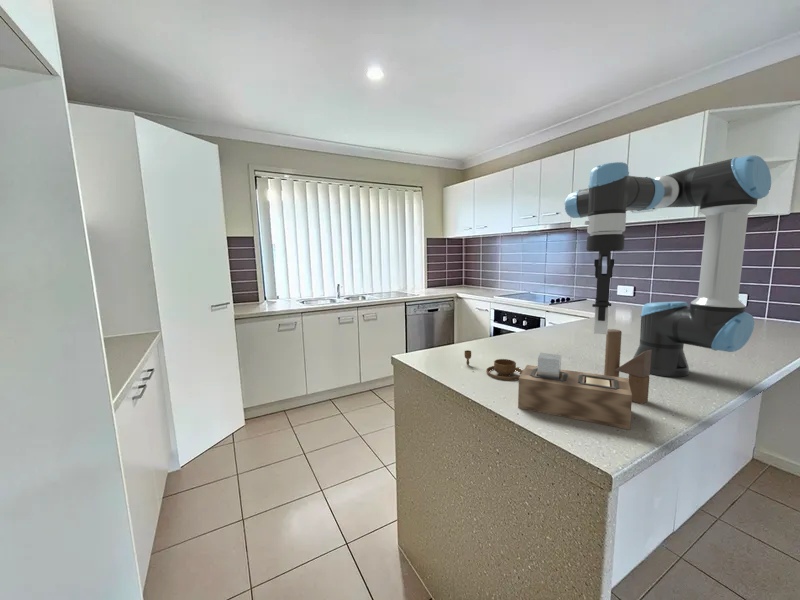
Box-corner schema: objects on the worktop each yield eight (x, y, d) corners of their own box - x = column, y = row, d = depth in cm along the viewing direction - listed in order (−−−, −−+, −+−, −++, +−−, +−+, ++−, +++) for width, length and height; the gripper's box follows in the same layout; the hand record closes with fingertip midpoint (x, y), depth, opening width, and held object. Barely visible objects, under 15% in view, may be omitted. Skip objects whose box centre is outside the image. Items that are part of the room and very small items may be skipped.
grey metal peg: (560, 380, 88) (561, 355, 88) (558, 386, 84) (559, 360, 83) (539, 377, 91) (540, 352, 90) (537, 383, 87) (538, 357, 86)
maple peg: (607, 407, 84) (609, 380, 83) (608, 415, 79) (610, 387, 78) (585, 403, 86) (586, 377, 85) (584, 411, 82) (585, 383, 81)
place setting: (490, 385, 104) (490, 367, 103) (461, 366, 123) (461, 350, 122) (538, 378, 108) (538, 361, 108) (502, 361, 127) (502, 346, 127)
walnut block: (625, 408, 85) (627, 377, 84) (629, 429, 74) (632, 394, 73) (526, 391, 97) (526, 364, 96) (518, 407, 86) (518, 377, 85)
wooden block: (641, 404, 87) (646, 337, 85) (599, 390, 96) (603, 329, 94) (648, 401, 89) (653, 335, 86) (607, 388, 98) (610, 328, 96)
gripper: (587, 236, 85) (583, 327, 88) (586, 233, 74) (581, 337, 77) (622, 234, 81) (617, 329, 84) (627, 231, 70) (620, 340, 73)
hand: (600, 333), depth 80 cm, fingers closed
